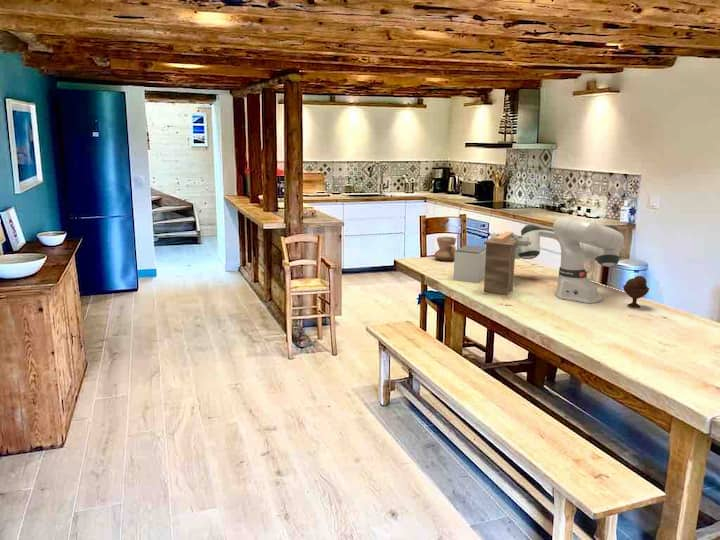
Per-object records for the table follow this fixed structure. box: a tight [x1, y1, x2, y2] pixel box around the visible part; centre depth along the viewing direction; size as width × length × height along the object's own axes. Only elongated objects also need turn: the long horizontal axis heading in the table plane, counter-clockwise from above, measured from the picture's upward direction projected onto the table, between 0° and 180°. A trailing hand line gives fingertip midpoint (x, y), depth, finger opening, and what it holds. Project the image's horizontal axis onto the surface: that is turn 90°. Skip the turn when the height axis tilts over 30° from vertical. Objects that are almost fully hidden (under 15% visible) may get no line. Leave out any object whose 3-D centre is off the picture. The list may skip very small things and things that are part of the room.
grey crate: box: [452, 244, 486, 283], centre depth 333 cm, size 18×14×16 cm
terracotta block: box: [494, 231, 514, 244], centre depth 306 cm, size 23×4×2 cm, turn 153°
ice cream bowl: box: [622, 275, 650, 309], centre depth 281 cm, size 11×11×15 cm
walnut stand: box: [483, 237, 518, 296], centre depth 305 cm, size 14×14×26 cm
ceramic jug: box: [434, 236, 457, 262], centre depth 380 cm, size 18×14×14 cm
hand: (507, 234), depth 313 cm, fingers closed on terracotta block, 4 cm apart
